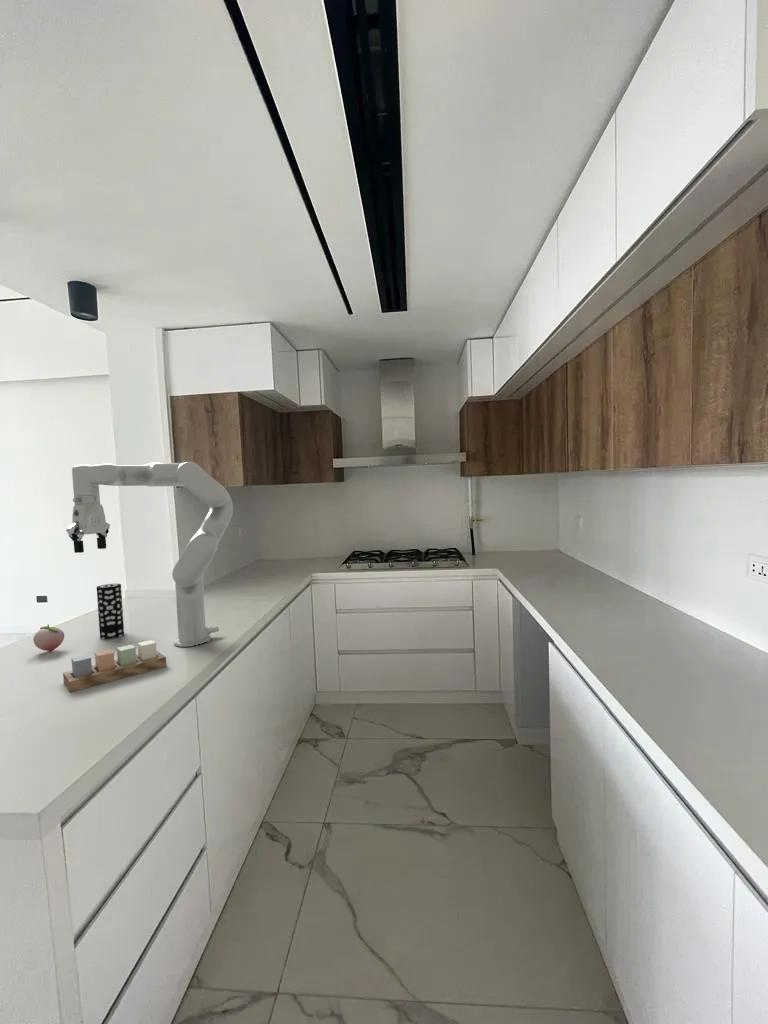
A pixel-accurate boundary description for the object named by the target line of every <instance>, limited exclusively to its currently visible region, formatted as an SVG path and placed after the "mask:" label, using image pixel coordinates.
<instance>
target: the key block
mask: <svg viewBox="0 0 768 1024" xmlns="http://www.w3.org/2000/svg"><path fill="white" fill-rule="evenodd" d="M156 653H157V657H155V658H151V659H147V660H143V661H141V660H140V659H139V655H138V653H136V662H135V663H131V664H127V665H123V666H120V665H119V664H118V658H116V659H114V662H115V668H111V669H107V670H103V671H99V672H98V671H97V670H96V664H93V665H92V674H88V675H84V676H80V677H76V678H75V677H74V676H73V673H72V670H68V671H64V672H62V676H63V684H64V685H65V687H66V688H67V689H68V692H69V693H72V692H77V691H80V690H83V689H87V687H88V688H92V687H94V686H99V685H102V684H101V683H103V684H105V682H106V683H110V682H113V680H114V681H116V680H117V679H118V680H120V678H121V679H125V678H128V676H129V677H132V676H136V675H139V674H143V673H146V672H150V671H155V670H157V669H161V668H165V667H167V666H168V665H167V657H166V655H164V654H162V653H161V652H160V651H158V650H157V649H156ZM124 677H125V678H124ZM109 681H110V682H109ZM98 684H99V685H98ZM91 686H92V687H91Z"/></svg>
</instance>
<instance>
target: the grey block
mask: <svg viewBox="0 0 768 1024" xmlns="http://www.w3.org/2000/svg"><path fill="white" fill-rule="evenodd" d="M70 660H71V669H72V670H71V671H72V673H73V676H74V677H75V678H76V677H80V676H84V675H88V674H92V657H91V656H90V655H89V654H83V655H81V656H76V657H71V659H70Z"/></svg>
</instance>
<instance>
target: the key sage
mask: <svg viewBox="0 0 768 1024" xmlns="http://www.w3.org/2000/svg"><path fill="white" fill-rule="evenodd" d="M136 648H137V647H135V646H134V645H133V644H128V645H124V646H118V647H116V655H117V656H116V657H117V658H116V659H118V664H119V665H120V666H123V665H127V664H131V663H135V662H136V655H137V651H136V650H137V649H136Z"/></svg>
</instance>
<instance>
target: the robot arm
mask: <svg viewBox="0 0 768 1024" xmlns="http://www.w3.org/2000/svg"><path fill="white" fill-rule="evenodd" d="M71 476H72V478H71V479H72V488H73V489H72V490H73V498H72V502H74V505H73V508H72V524H71V525H69V526H68V527H66V528H65V529H66V530H65V531H66V533H67V535H68V537H69V538H70V539H71V541H72V542H73V550H74V553H77V554H78V553H79V554H80V553H84V552H85V549H84V540H82V539H83V538H84V536H85V535H94V534H95V535H96V536H97V537H96V545H97V546H96V547H97V549H98V550H99V549H100V550H106V549H107V537H108V534H109V532H110V531H109V530H110V528H111V524H110V523H108V522H107V520H106V515H105V510H104V507H103V504H101V497H100V485H101V486H109V487H110V486H112V487H113V486H114V487H129V486H130V487H131V486H132V487H133V486H134V487H135V486H140V487H141V486H146V487H154V488H155V487H185V488H186V489H188V490H189V491H190V492H191V493H193V494H194V495H195V496H196V497H197V498H199V500H200V501H202V502H203V503H204V504H206V505H207V506H208V512H207V514H206V516H205V518H204V519H203V521H202V523H201V525H200V527H199V528H198V529H197V531H196V532H195V534H194V535H193V536H192V537H191V538H190V540H189V542H188V543H187V545H186V547H185V548H184V551H183V552H182V554H181V555H180V557H179V559H178V560H177V562H176V563H175V565H174V566H173V569H172V573H171V574H172V575H171V576H172V579H173V581H174V583H175V600H176V601H175V602H176V603H175V604H176V616H177V617H176V618H177V620H176V621H177V633H178V634H177V636H178V637H177V638H175V639H174V640H173V644H174V646H176V647H181V648H183V647H185V648H186V647H195V646H194V645H196V646H199V645H198V644H200V645H203V644H202V643H204V642H206V643H208V642H209V641H210V640H211V639H210V638H212V637H211V634H213V633H218V632H219V630H220V629H219V628H220V627H219V626H214V627H213V626H210V627H209V626H207V625H206V612H205V610H206V609H205V593H204V592H205V591H204V589H205V588H204V574H205V571H206V570H207V568H208V567H209V564H210V563H211V562H212V560H213V558H214V557H215V554H216V552H217V550H218V545H219V543H220V541H221V539H222V538H223V536H224V534H225V532H226V530H227V529H228V526H229V525H230V523H231V520H232V518H233V512H234V504H233V500H232V498H231V495H230V493H229V492H228V491H227V489H226V487H225V486H224V485H222V484H221V483H220V482H218V480H216V479H215V478H213V477H212V476H211V475H210V474H209V473H207V472H206V470H204V468H202V467H201V466H200V465H199V464H197V463H196V462H193V461H185V462H149V463H147V464H142V465H141V464H140V465H139V464H137V465H133V464H131V465H129V464H128V465H126V464H125V465H122V464H121V465H120V464H119V465H117V464H113V463H102V464H94V465H91V464H77V465H74V466H72V469H71ZM208 640H209V641H208ZM207 641H208V642H207ZM204 644H205V643H204Z"/></svg>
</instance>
